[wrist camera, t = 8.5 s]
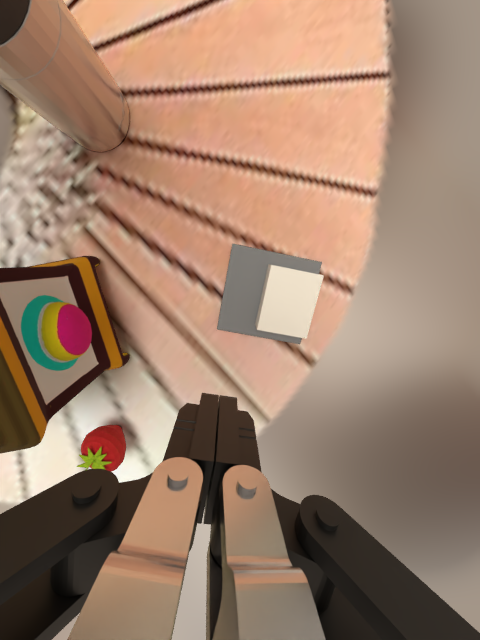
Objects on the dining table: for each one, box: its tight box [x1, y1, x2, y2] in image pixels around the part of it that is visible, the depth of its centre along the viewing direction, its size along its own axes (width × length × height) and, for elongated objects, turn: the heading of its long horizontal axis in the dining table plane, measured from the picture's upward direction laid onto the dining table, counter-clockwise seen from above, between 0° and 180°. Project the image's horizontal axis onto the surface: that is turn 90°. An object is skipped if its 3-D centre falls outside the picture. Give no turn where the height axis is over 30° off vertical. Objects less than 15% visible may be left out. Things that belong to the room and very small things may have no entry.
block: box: [255, 264, 324, 339], centre depth 39 cm, size 3×10×8 cm
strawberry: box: [77, 425, 126, 472], centre depth 40 cm, size 6×8×10 cm
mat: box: [217, 244, 322, 344], centre depth 40 cm, size 14×14×1 cm
